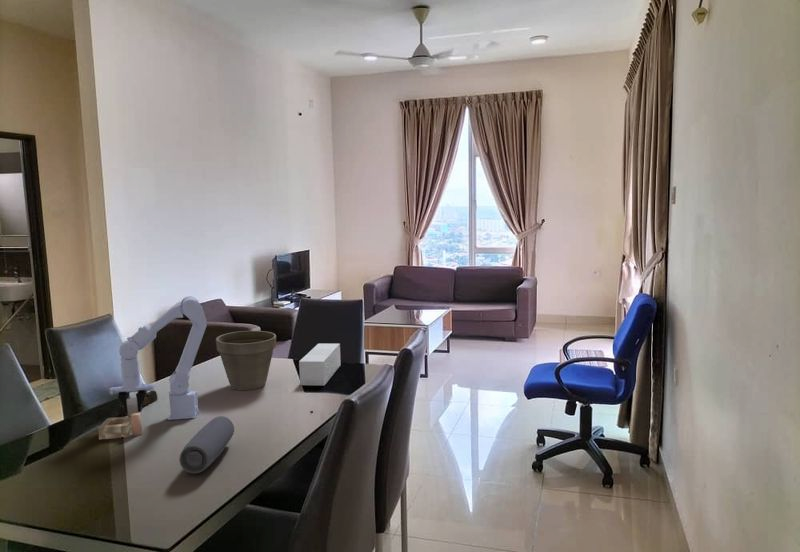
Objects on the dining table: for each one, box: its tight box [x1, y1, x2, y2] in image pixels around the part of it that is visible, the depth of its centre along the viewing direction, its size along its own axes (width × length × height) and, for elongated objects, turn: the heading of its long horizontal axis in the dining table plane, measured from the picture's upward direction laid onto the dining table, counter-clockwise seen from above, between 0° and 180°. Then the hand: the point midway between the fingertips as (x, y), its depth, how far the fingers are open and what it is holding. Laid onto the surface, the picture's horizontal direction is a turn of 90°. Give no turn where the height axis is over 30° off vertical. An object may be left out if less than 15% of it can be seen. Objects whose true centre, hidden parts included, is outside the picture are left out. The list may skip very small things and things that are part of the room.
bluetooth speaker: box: [178, 415, 235, 474], centre depth 168 cm, size 23×9×10 cm, turn 178°
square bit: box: [126, 394, 142, 417], centre depth 199 cm, size 3×3×8 cm
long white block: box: [298, 343, 342, 386], centre depth 254 cm, size 32×11×11 cm, turn 174°
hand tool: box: [117, 390, 159, 417], centre depth 215 cm, size 19×4×5 cm, turn 161°
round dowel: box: [131, 412, 143, 436], centre depth 189 cm, size 3×3×7 cm
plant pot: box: [215, 330, 277, 391], centre depth 239 cm, size 25×25×22 cm
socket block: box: [97, 416, 132, 440], centre depth 190 cm, size 9×9×4 cm
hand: (134, 411), depth 199 cm, fingers closed on square bit, 3 cm apart
